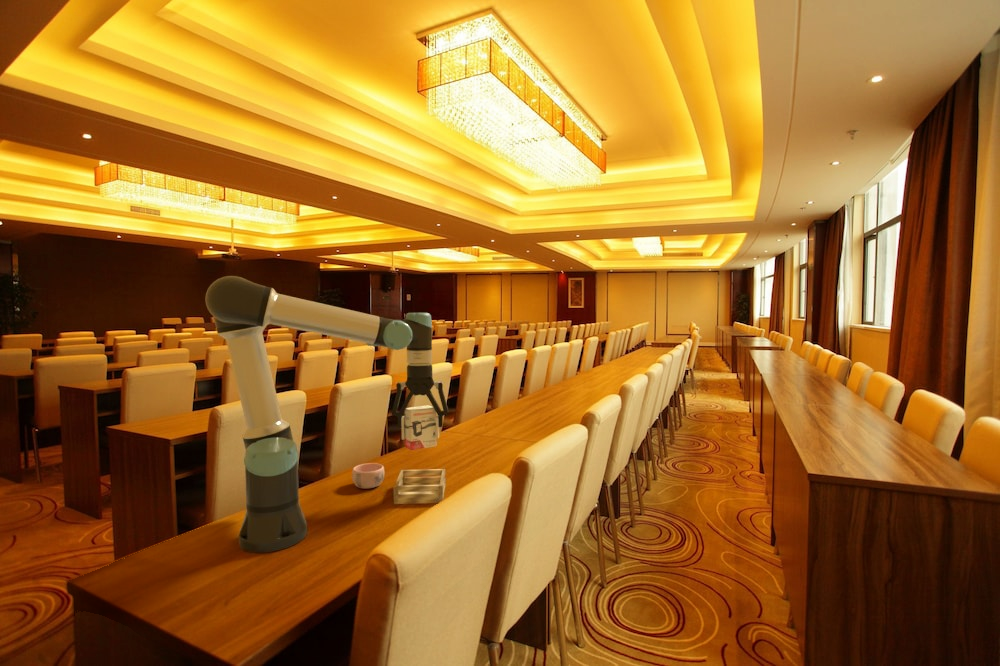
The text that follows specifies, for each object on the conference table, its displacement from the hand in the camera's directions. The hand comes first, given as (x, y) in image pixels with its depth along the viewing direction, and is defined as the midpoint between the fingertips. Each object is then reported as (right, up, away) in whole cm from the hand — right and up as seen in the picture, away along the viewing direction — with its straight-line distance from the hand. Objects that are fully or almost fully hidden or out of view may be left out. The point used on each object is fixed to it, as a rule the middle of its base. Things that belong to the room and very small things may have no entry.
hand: (420, 438), depth 149 cm
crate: (0, -17, +1) cm, 17 cm away
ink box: (0, -3, 0) cm, 3 cm away
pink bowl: (-18, -17, +9) cm, 26 cm away
